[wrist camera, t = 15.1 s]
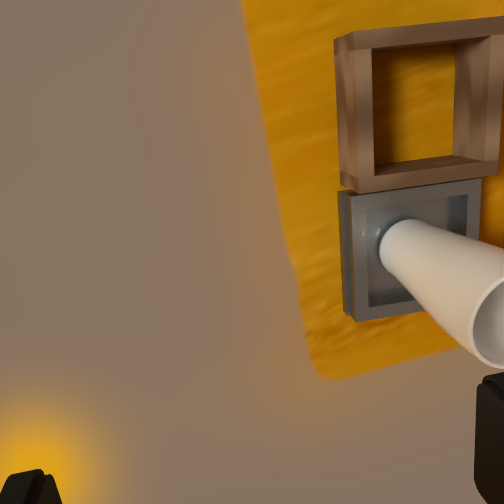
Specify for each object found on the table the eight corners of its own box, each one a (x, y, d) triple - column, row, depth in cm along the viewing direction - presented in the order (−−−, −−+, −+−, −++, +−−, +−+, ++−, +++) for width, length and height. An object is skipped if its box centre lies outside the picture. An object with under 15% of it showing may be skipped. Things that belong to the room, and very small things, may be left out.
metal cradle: (337, 191, 40) (347, 197, 38) (467, 173, 41) (485, 177, 39) (343, 310, 44) (352, 322, 41) (463, 290, 45) (478, 301, 43)
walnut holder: (333, 39, 36) (354, 31, 32) (470, 25, 37) (507, 15, 33) (340, 184, 40) (359, 194, 36) (464, 166, 41) (497, 174, 37)
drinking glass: (428, 285, 43) (550, 375, 29) (360, 277, 42) (453, 367, 28) (450, 214, 41) (591, 274, 27) (379, 203, 40) (489, 260, 26)
